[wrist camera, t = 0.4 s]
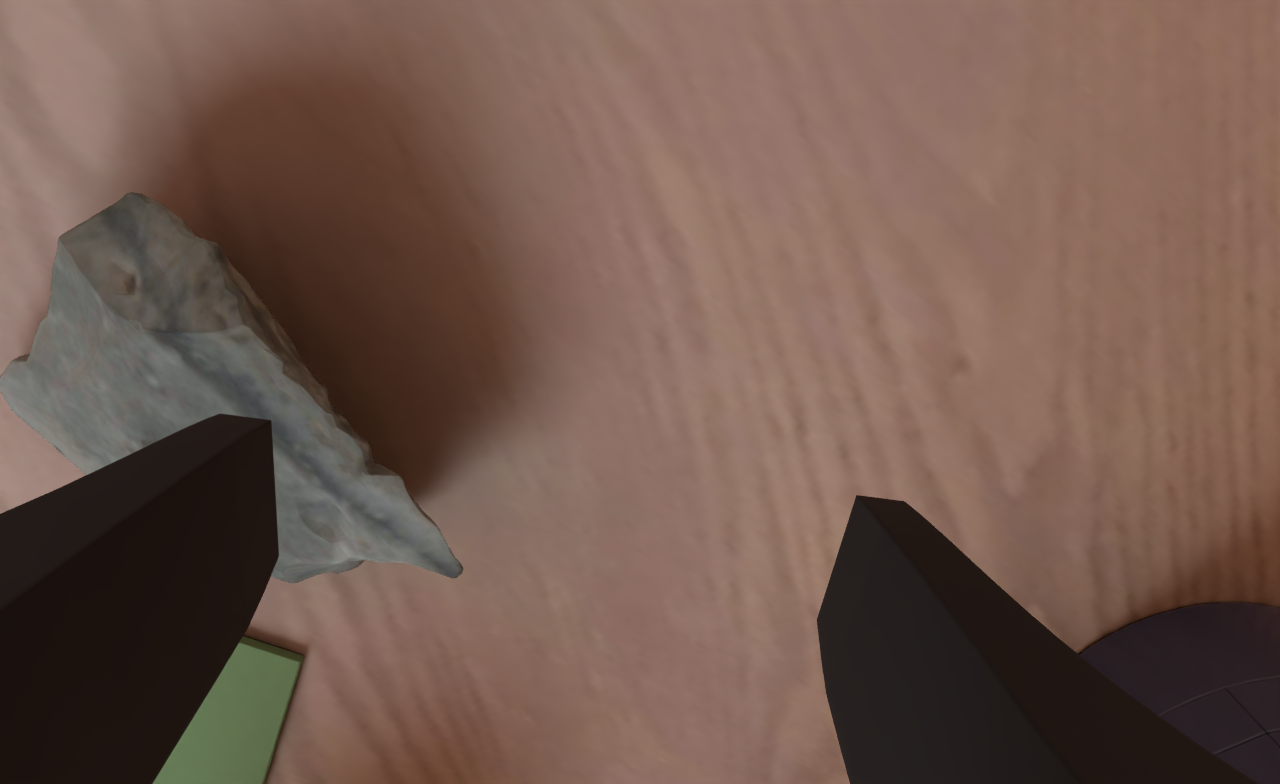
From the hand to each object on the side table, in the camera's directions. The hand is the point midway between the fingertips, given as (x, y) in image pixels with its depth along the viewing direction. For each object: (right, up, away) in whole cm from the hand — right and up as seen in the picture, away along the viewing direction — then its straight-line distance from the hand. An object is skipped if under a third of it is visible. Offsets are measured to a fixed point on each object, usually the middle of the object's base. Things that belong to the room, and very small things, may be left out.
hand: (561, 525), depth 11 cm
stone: (-9, +1, +11) cm, 14 cm away
